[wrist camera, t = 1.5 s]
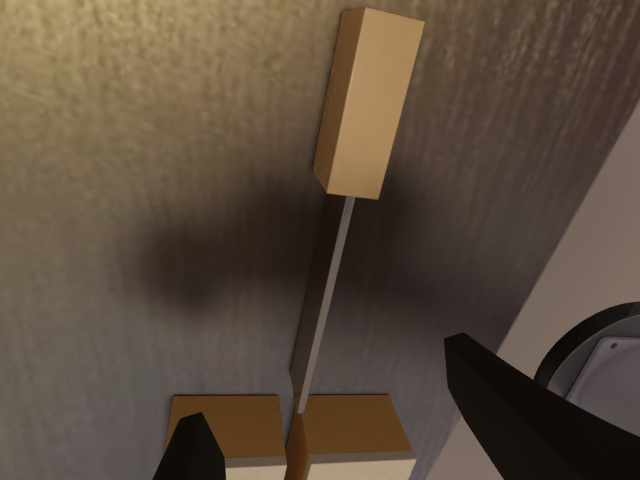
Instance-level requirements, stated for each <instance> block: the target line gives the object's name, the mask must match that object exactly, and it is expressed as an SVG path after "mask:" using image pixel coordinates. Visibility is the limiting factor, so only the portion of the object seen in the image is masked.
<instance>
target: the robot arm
mask: <svg viewBox="0 0 640 480" xmlns="http://www.w3.org/2000/svg"><path fill="white" fill-rule="evenodd" d="M444 346H445V358H446V370H447V382H448V388H449V390H450V392H451V394H452V396H453V398H454V400H455V402H456V404H457V406H458V408H459V410H460V412H461V414H462V416H463V418H464V420H465V421H466V423H467V424H468V426H469V427H470V429H471V431H472V432H473V433H474V435H475V436H476V438H477V440H478V441H479V443H480V444H481V446H482V447H483V448H484V450H485V452H486V453H487V455H488V456H489V457H490V459H491V461H492V462H493V464H494V465H495V467H496V468H497V470H498V471H499V473H500V474H501V476H502V477H503V479H504V480H640V338H633V337H609V336H607V337H603V338H601V339H600V340H599V341H598V343H597V345H596V346H595V348H594V350H593V352H592V353H591V355H590V357H589V358H588V360H587V362H586V364H585V365H584V367H583V369H582V371H581V372H580V374H579V376H578V378H577V379H576V381H575V383H574V385H573V386H572V388H571V390H570V392H569V393H568V395H567V397H566V399H564V398H562V397H561V396H559V395H557V394H556V393H554V392H552V391H550V390H549V389H547V388H545V387H544V386H542V385H541V384H539V383H537V382H536V381H534V380H533V379H531V378H529V377H528V376H526V375H525V374H523V373H522V372H520V371H519V370H517V369H515V368H514V367H513V366H511V365H510V364H508V363H506V362H505V361H504V360H502V359H501V358H499V357H498V356H497V355H495V354H494V353H492V352H491V351H489V350H488V349H487V348H485V347H484V346H482V345H481V344H480V343H478V342H477V341H475V340H474V339H473V338H471V337H470V336H468V335H467V334H465V333H464V332H463V333H460V334H457V335H453V336H450V337H447V338H444ZM152 480H226V469H225V457H224V455H223V453H222V451H221V449H220V447H219V445H218V443H217V441H216V439H215V437H214V435H213V433H212V431H211V429H210V427H209V425H208V423H207V421H206V419H205V417H204V415H203V413H202V412H199V413H196V414H193V415H189V416H186V417H183V418H180V420H179V421H178V423H177V425H176V428H175V430H174V432H173V435H172V437H171V439H170V442H169V444H168V446H167V449H166V451H165V453H164V455H163V458H162V460H161V462H160V464H159V466H158V469H157V471H156V473H155V475H154V477H153V479H152Z"/></svg>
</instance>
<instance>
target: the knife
mask: <svg viewBox="0 0 640 480" xmlns="http://www.w3.org/2000/svg"><path fill="white" fill-rule="evenodd" d="M424 24H425V22H424V21H421V20H417V19H413V18H409V17H405V16H401V15H397V14H393V13H389V12H385V11H381V10H377V9H373V8H369V7H364V8H359V9H355V10H350V11H346V12H343V13H342V16H341V22H340V27H339V32H338V38H337V43H336V48H335V53H334V59H333V64H332V69H331V75H330V80H329V85H328V91H327V96H326V101H325V106H324V112H323V117H322V122H321V128H320V133H319V138H318V143H317V149H316V154H315V159H314V165H313V172H314V173H315V175H316V176H317V178H318V180H319V181H320V183H321V185H322V186H323V188H324V189H325V191H326V193H327V196H326V200H325V205H324V210H323V215H322V220H321V224H320V229H319V234H318V239H317V244H316V248H315V253H314V258H313V263H312V268H311V272H310V277H309V282H308V287H307V292H306V296H305V301H304V306H303V311H302V316H301V320H300V325H299V330H298V335H297V340H296V344H295V349H294V354H293V359H292V364H291V368H290V377H291V383H292V388H293V394H294V400H295V405H296V411H297V413H298V414H300V413H304V412H305V407H306V403H307V399H308V395H309V391H310V386H311V382H312V378H313V374H314V370H315V366H316V361H317V357H318V353H319V349H320V345H321V340H322V336H323V332H324V328H325V324H326V319H327V315H328V311H329V307H330V303H331V299H332V294H333V290H334V286H335V282H336V278H337V273H338V269H339V265H340V261H341V257H342V252H343V248H344V244H345V240H346V236H347V232H348V227H349V223H350V219H351V215H352V211H353V206H354V202H355V198H356V197H360V198H368V199H376V200H378V199H379V195H380V191H381V188H382V184H383V180H384V176H385V172H386V169H387V165H388V161H389V157H390V153H391V150H392V146H393V142H394V138H395V134H396V131H397V127H398V123H399V119H400V115H401V112H402V108H403V104H404V100H405V96H406V93H407V89H408V85H409V81H410V77H411V74H412V70H413V66H414V62H415V58H416V54H417V51H418V47H419V43H420V39H421V35H422V32H423V28H424Z"/></svg>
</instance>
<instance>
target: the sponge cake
mask: <svg viewBox="0 0 640 480" xmlns="http://www.w3.org/2000/svg"><path fill="white" fill-rule="evenodd" d="M199 412H202V413H203V415H204V417H205V419H206V421H207V423H208V425H209V427H210V429H211V431H212V433H213V435H214V437H215V439H216V441H217V443H218V445H219V447H220V449H221V451H222V453H223V455H224V457H225V469H226V480H408V479H409V477H410V474H411V472H412V469H413V467H414V465H415V462H416V457H415V455H414V452H413V451H412V448H411V446H410V443H409V441H408V439H407V437H406V434H405V432H404V430H403V428H402V425H401V423H400V421H399V418H398V416H397V414H396V412H395V409H394V407H393V405H392V403H391V400H390V398H389V396H388V395H308V399H307V403H306V407H305V412H304V413H300V414H298V413H297V411H296V407H295V411H294V415H293V420H292V424H291V429H290V433H289V438H288V442H287V446H286V451H285V446H284V438H283V431H282V423H281V415H280V408H279V400H278V396H277V395H263V396H174V397H173V401H172V408H171V414H170V420H169V426H168V433H167V439H166V445H165V451H166V449H167V446H168V444H169V442H170V439H171V437H172V435H173V432H174V430H175V428H176V425H177V423H178V421H179V420H180V418H183V417H186V416H189V415H193V414H196V413H199ZM164 453H165V452H164Z"/></svg>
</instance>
